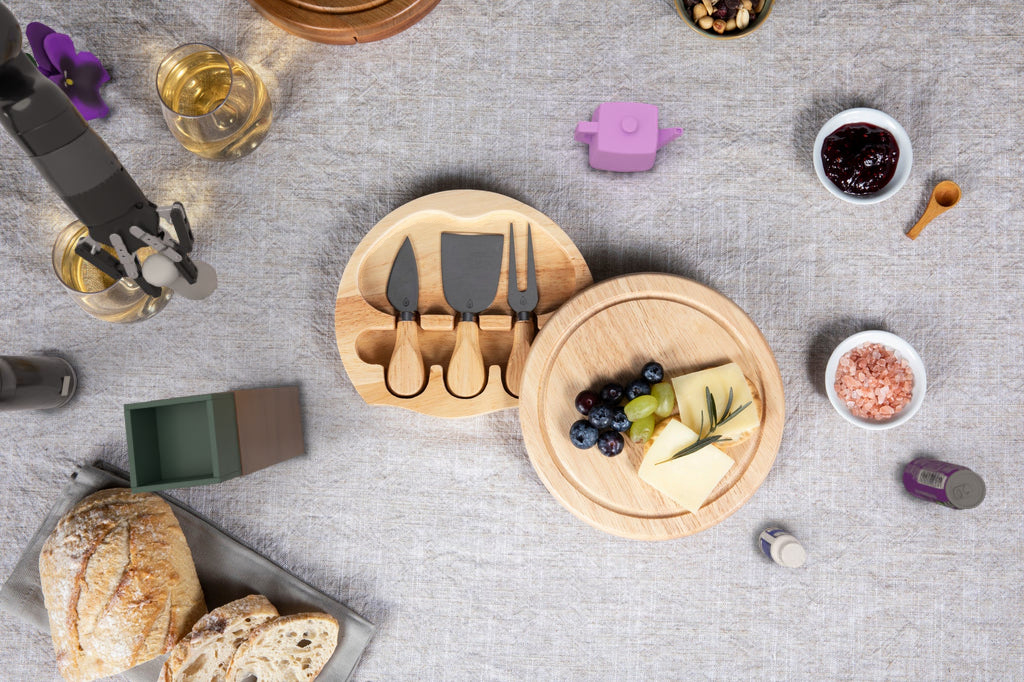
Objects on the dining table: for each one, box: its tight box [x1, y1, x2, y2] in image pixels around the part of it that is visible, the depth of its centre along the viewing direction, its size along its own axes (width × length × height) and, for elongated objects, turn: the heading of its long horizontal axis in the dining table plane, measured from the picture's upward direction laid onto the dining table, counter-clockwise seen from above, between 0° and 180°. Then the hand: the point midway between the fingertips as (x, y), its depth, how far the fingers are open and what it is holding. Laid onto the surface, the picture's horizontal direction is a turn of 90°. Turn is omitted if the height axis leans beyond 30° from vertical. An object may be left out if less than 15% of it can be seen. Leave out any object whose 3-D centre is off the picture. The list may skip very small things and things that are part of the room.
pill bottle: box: [758, 526, 807, 569], centre depth 112 cm, size 5×5×9 cm
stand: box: [151, 385, 306, 478], centre depth 105 cm, size 12×12×26 cm
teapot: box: [573, 101, 684, 173], centre depth 115 cm, size 18×10×10 cm, turn 87°
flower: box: [24, 21, 111, 122], centre depth 117 cm, size 15×15×14 cm
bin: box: [123, 392, 242, 495], centre depth 89 cm, size 12×12×7 cm
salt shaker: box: [141, 252, 219, 301], centre depth 90 cm, size 6×6×13 cm
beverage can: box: [902, 457, 987, 511], centre depth 110 cm, size 7×7×12 cm
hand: (176, 286), depth 87 cm, fingers closed on salt shaker, 4 cm apart
